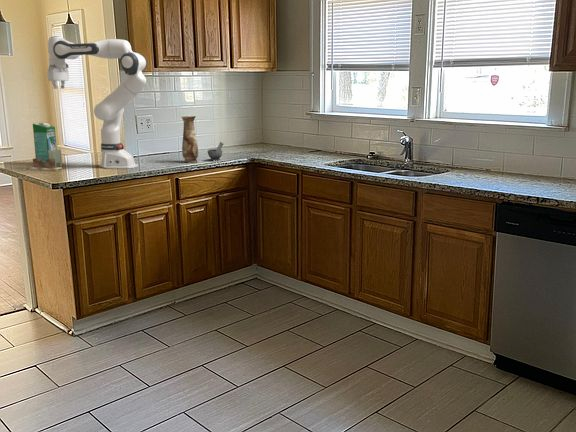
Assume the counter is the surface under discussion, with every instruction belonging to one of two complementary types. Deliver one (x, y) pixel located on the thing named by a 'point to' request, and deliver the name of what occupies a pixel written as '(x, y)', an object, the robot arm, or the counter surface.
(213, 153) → the mortar and pestle
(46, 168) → the jig
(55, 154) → the pale green flat box
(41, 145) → the milk carton
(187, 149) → the vase
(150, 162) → the counter surface
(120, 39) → the robot arm
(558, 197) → the counter surface
